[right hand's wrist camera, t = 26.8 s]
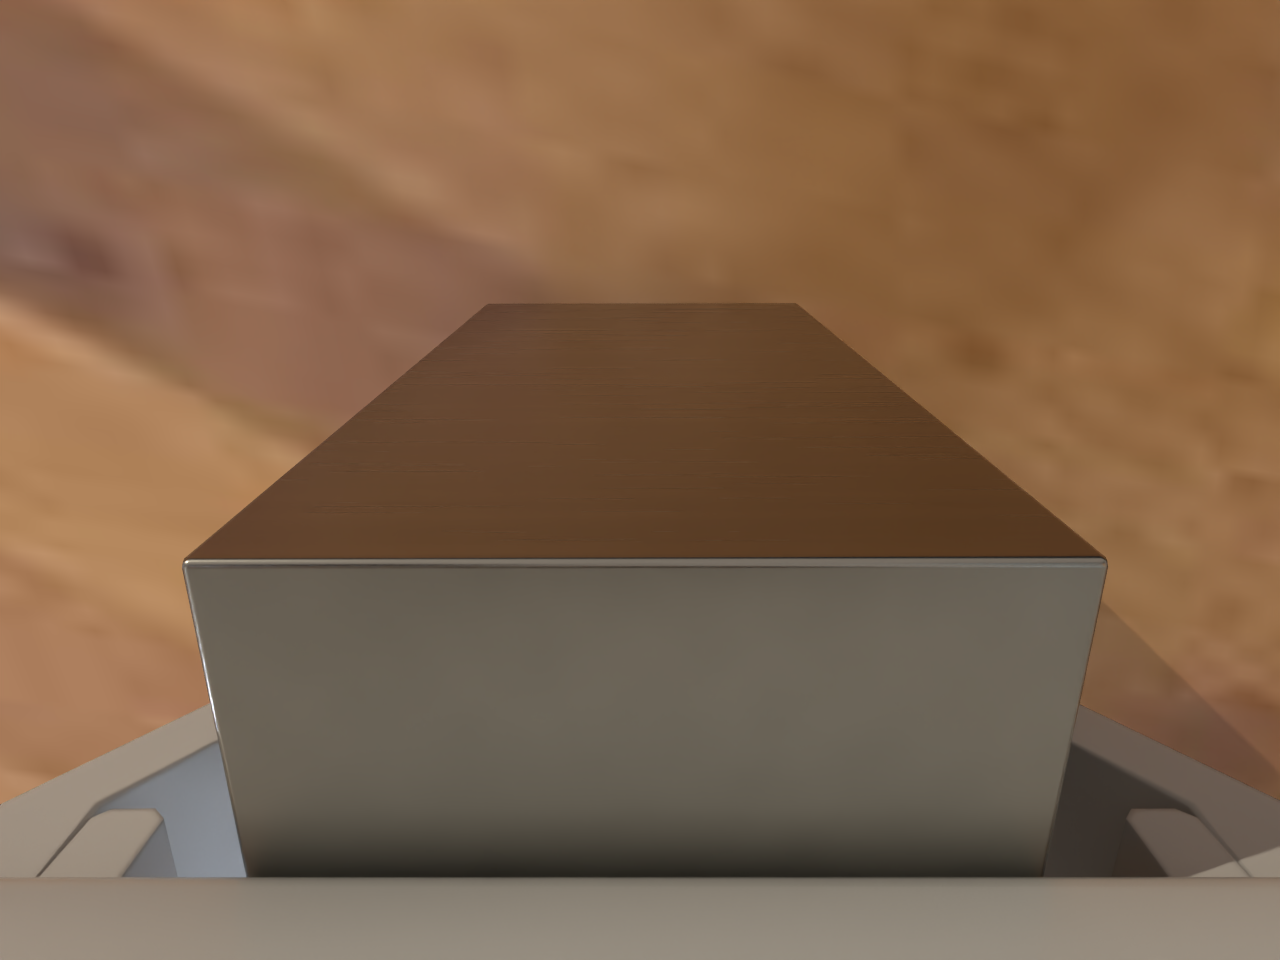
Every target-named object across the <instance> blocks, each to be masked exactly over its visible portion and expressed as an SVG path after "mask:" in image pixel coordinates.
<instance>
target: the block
mask: <svg viewBox="0 0 1280 960" xmlns="http://www.w3.org/2000/svg"><path fill="white" fill-rule="evenodd" d="M1107 569H1108V564H1107V559H1106V557H1105V556H1103V555H1102V554H1101V553H1100V552H1099V551H1097V550H1096V549H1095V548H1094V547H1093V546H1091V545H1090V544H1089V543H1088V542H1086V541H1085V540H1084V539H1083V538H1082V537H1080V536H1079V535H1078V534H1077V533H1075V532H1074V531H1073V530H1072V529H1071V528H1069V527H1068V526H1067V525H1066V524H1065V523H1063V522H1062V521H1061V520H1060V519H1058V518H1057V517H1056V516H1055V515H1054V514H1052V513H1051V512H1050V511H1049V510H1047V509H1046V508H1045V507H1044V506H1043V505H1041V504H1040V503H1039V502H1038V501H1037V500H1035V499H1034V498H1033V497H1032V496H1030V495H1029V494H1028V493H1027V492H1026V491H1024V490H1023V489H1022V488H1021V487H1019V486H1018V485H1017V484H1016V483H1015V482H1013V481H1012V480H1011V479H1010V478H1008V477H1007V476H1006V475H1005V474H1004V473H1002V472H1001V471H1000V470H999V469H998V468H996V467H995V466H994V465H993V464H991V463H990V462H989V461H988V460H987V459H985V458H984V457H983V456H982V455H980V454H979V453H978V452H977V451H976V450H974V449H973V448H972V447H971V446H970V445H968V444H967V443H966V442H965V441H963V440H962V439H961V438H960V437H959V436H957V435H956V434H955V433H954V432H952V431H951V430H950V429H949V428H948V427H946V426H945V425H944V424H943V423H941V422H940V421H939V420H938V419H937V418H935V417H934V416H933V415H932V414H931V413H929V412H928V411H927V410H926V409H924V408H923V407H922V406H921V405H920V404H918V403H917V402H916V401H915V400H913V399H912V398H911V397H910V396H909V395H907V394H906V393H905V392H904V391H903V390H901V389H900V388H899V387H898V386H896V385H895V384H894V383H893V382H892V381H890V380H889V379H888V378H887V377H885V376H884V375H883V374H882V373H881V372H879V371H878V370H877V369H876V368H875V367H873V366H872V365H871V364H870V363H868V362H867V361H866V360H865V359H864V358H862V357H861V356H860V355H859V354H857V353H856V352H855V351H854V350H853V349H851V348H850V347H849V346H848V345H846V344H845V343H844V342H843V341H842V340H840V339H839V338H838V337H837V336H836V335H834V334H833V333H832V332H831V331H829V330H828V329H827V328H826V327H825V326H823V325H822V324H821V323H820V322H818V321H817V320H816V319H815V318H814V317H812V316H811V315H810V314H809V313H808V312H806V311H805V310H804V309H803V308H801V307H800V306H799V305H798V304H796V303H685V304H487V305H486V306H484V307H483V308H482V309H481V310H480V311H478V312H477V313H476V314H475V315H474V316H472V317H471V318H470V319H469V320H468V321H467V322H465V323H464V324H463V325H462V326H461V327H459V328H458V329H457V330H456V331H455V332H453V333H452V334H451V335H450V336H449V337H447V338H446V339H445V340H444V341H443V342H442V343H440V344H439V345H438V346H437V347H436V348H434V349H433V350H432V351H431V352H430V353H428V354H427V355H426V356H425V357H424V358H422V359H421V360H420V361H419V362H418V363H417V364H415V365H414V366H413V367H412V368H411V369H409V370H408V371H407V372H406V373H405V374H403V375H402V376H401V377H400V378H399V379H397V380H396V381H395V382H394V383H393V384H392V385H390V386H389V387H388V388H387V389H386V390H384V391H383V392H382V393H381V394H380V395H378V396H377V397H376V398H375V399H374V400H372V401H371V402H370V403H369V404H368V405H367V406H365V407H364V408H363V409H362V410H361V411H359V412H358V413H357V414H356V415H355V416H353V417H352V418H351V419H350V420H349V421H348V422H346V423H345V424H344V425H343V426H342V427H340V428H339V429H338V430H337V431H336V432H334V433H333V434H332V435H331V436H330V437H328V438H327V439H326V440H325V441H324V442H323V443H321V444H320V445H319V446H318V447H317V448H315V449H314V450H313V451H312V452H311V453H309V454H308V455H307V456H306V457H305V458H303V459H302V460H301V461H300V462H299V463H298V464H296V465H295V466H294V467H293V468H292V469H290V470H289V471H288V472H287V473H286V474H284V475H283V476H282V477H281V478H280V479H278V480H277V481H276V482H275V483H274V484H273V485H271V486H270V487H269V488H268V489H267V490H265V491H264V492H263V493H262V494H261V495H259V496H258V497H257V498H256V499H255V500H253V501H252V502H251V503H250V504H249V505H248V506H246V507H245V508H244V509H243V510H242V511H240V512H239V513H238V514H237V515H236V516H234V517H233V518H232V519H231V520H230V521H228V522H227V523H226V524H225V525H224V526H223V527H221V528H220V529H219V530H218V531H217V532H215V533H214V534H213V535H212V536H211V537H209V538H208V539H207V540H206V541H205V542H203V543H202V544H201V545H200V546H199V547H198V548H196V549H195V550H194V551H193V552H192V553H190V554H189V555H188V556H187V557H186V558H184V561H183V566H182V570H183V574H184V579H185V584H186V589H187V594H188V598H189V603H190V608H191V613H192V618H193V623H194V627H195V632H196V637H197V642H198V647H199V651H200V656H201V661H202V666H203V671H204V676H205V680H206V685H207V690H208V695H209V700H210V704H211V709H212V714H213V719H214V724H215V729H216V733H217V738H218V743H219V748H220V753H221V757H222V762H223V767H224V772H225V777H226V782H227V786H228V791H229V796H230V801H231V806H232V810H233V815H234V820H235V825H236V830H237V835H238V839H239V844H240V849H241V854H242V859H243V863H244V868H245V873H246V877H1043V876H1044V872H1045V867H1046V862H1047V857H1048V852H1049V848H1050V843H1051V838H1052V833H1053V828H1054V824H1055V819H1056V814H1057V809H1058V804H1059V800H1060V795H1061V790H1062V785H1063V780H1064V776H1065V771H1066V766H1067V761H1068V756H1069V752H1070V747H1071V742H1072V737H1073V732H1074V728H1075V723H1076V718H1077V713H1078V708H1079V704H1080V699H1081V694H1082V689H1083V684H1084V680H1085V675H1086V670H1087V665H1088V660H1089V656H1090V651H1091V646H1092V641H1093V636H1094V632H1095V627H1096V622H1097V617H1098V612H1099V608H1100V603H1101V598H1102V593H1103V588H1104V584H1105V579H1106V574H1107Z"/></svg>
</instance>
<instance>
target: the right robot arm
mask: <svg viewBox="0 0 1280 960" xmlns="http://www.w3.org/2000/svg"><path fill="white" fill-rule="evenodd" d="M0 960H1280V800H1278V799H1275V798H1273V797H1271V796H1269V795H1267V794H1265V793H1263V792H1261V791H1259V790H1257V789H1255V788H1253V787H1250V786H1248V785H1246V784H1244V783H1242V782H1240V781H1238V780H1236V779H1234V778H1232V777H1230V776H1228V775H1225V774H1223V773H1221V772H1219V771H1217V770H1215V769H1213V768H1211V767H1209V766H1207V765H1205V764H1203V763H1201V762H1198V761H1196V760H1194V759H1192V758H1190V757H1188V756H1186V755H1184V754H1182V753H1180V752H1178V751H1176V750H1173V749H1171V748H1169V747H1167V746H1165V745H1163V744H1161V743H1159V742H1157V741H1155V740H1153V739H1151V738H1148V737H1146V736H1144V735H1142V734H1140V733H1138V732H1136V731H1134V730H1132V729H1130V728H1128V727H1126V726H1123V725H1121V724H1119V723H1117V722H1115V721H1113V720H1111V719H1109V718H1107V717H1105V716H1103V715H1101V714H1099V713H1096V712H1094V711H1092V710H1090V709H1088V708H1086V707H1084V706H1082V705H1080V704H1079V708H1078V713H1077V718H1076V723H1075V728H1074V732H1073V737H1072V742H1071V747H1070V752H1069V756H1068V761H1067V766H1066V771H1065V776H1064V780H1063V785H1062V790H1061V795H1060V800H1059V804H1058V809H1057V814H1056V819H1055V824H1054V828H1053V833H1052V838H1051V843H1050V848H1049V852H1048V857H1047V862H1046V867H1045V872H1044V876H1043V877H246V873H245V868H244V863H243V859H242V854H241V849H240V844H239V839H238V835H237V830H236V825H235V820H234V815H233V810H232V806H231V801H230V796H229V791H228V786H227V782H226V777H225V772H224V767H223V762H222V757H221V753H220V748H219V743H218V738H217V733H216V729H215V724H214V719H213V714H212V709H211V704H210V703H209V704H207V705H205V706H203V707H201V708H199V709H197V710H195V711H193V712H191V713H189V714H187V715H185V716H182V717H180V718H178V719H176V720H174V721H172V722H170V723H168V724H166V725H164V726H162V727H160V728H158V729H156V730H153V731H151V732H149V733H147V734H145V735H143V736H141V737H139V738H137V739H135V740H133V741H131V742H129V743H127V744H124V745H122V746H120V747H118V748H116V749H114V750H112V751H110V752H108V753H106V754H104V755H102V756H100V757H97V758H95V759H93V760H91V761H89V762H87V763H85V764H83V765H81V766H79V767H77V768H75V769H73V770H71V771H68V772H66V773H64V774H62V775H60V776H58V777H56V778H54V779H52V780H50V781H48V782H46V783H44V784H42V785H39V786H37V787H35V788H33V789H31V790H29V791H27V792H25V793H23V794H21V795H19V796H17V797H15V798H13V799H10V800H8V801H6V802H4V803H2V804H0Z"/></svg>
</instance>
